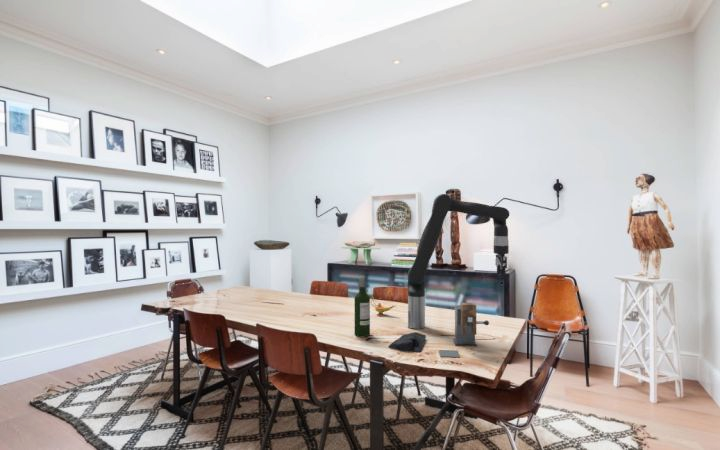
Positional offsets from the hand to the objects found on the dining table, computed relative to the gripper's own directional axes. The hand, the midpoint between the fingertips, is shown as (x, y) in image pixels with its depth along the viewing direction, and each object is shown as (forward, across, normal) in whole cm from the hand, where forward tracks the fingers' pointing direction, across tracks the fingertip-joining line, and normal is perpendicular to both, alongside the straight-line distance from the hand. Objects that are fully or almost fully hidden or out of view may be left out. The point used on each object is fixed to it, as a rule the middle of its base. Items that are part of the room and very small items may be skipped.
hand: (501, 274), depth 198 cm
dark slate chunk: (+30, +30, -49) cm, 65 cm away
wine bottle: (+30, +18, -73) cm, 81 cm away
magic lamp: (+30, -24, -65) cm, 75 cm away
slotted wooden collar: (+21, +37, -23) cm, 49 cm away
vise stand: (+29, +32, -20) cm, 47 cm away
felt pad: (+29, +42, -32) cm, 60 cm away
